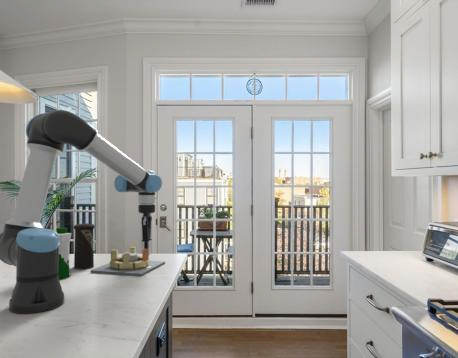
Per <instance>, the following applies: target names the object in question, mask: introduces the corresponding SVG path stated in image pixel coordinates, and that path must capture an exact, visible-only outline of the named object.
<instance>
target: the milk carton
mask: <svg viewBox="0 0 458 358" xmlns="http://www.w3.org/2000/svg"><path fill="white" fill-rule="evenodd" d="M55 231H56V232H57V233H58V235H59V243H60V244H59V271H58V278H59V281H60V280H63V278H64V279H68V278H70V277H71V273H70V242H71V238H72V234H73V233H72V232H68V227H62V226H61V227H57V228H56V229H55ZM67 277H68V278H67Z"/></svg>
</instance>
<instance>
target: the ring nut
mask: <svg viewBox="0 0 458 358" xmlns="http://www.w3.org/2000/svg"><path fill="white" fill-rule="evenodd" d="M136 250H137V249H136V246H130V247H129V251H126V252H124V253H123V254H124V262H122V256H119V251H118V249H111V250H110V260H109V263H110V267H111V268H115V269H137V268H142V267H146V266H148V264H149V261H150V257H149V256H150V255H149V249H146V250H143V249H142V252H141V253H142V254H141V255H138V261H137V262H130V253H136V254H137V252H136Z"/></svg>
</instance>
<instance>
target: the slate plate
mask: <svg viewBox="0 0 458 358" xmlns="http://www.w3.org/2000/svg"><path fill="white" fill-rule="evenodd" d="M138 256H139V253H137V252H136V253H130V262H137V261H138ZM121 257H122V262H124V253H122V254H121ZM163 265H166V261H164V260H162V261H161V260H160V261H159V260H149V264H148V266H146V267H142V268H137V269H115V268H111V267H110V262H109V263H106V264H103V265H101V266H98V267H95V268H93V269H90V272H92V273H93V274H103V273H107V274H106V275H108V274H109V275H117V276H118V275H121V276H131V277H132V276H135V277H143V276H145V275H146V274H149V273H150V272H152V271H154V270H156V269H158V268H160V267H161V266H163Z"/></svg>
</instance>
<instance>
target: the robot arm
mask: <svg viewBox="0 0 458 358" xmlns="http://www.w3.org/2000/svg"><path fill="white" fill-rule="evenodd" d="M25 134H26V137H27V138H28V139H27V142H26V147H27V149H28V150H29V154H28V158H27V161H26V165H25V169H24V173H23V177H22V180H21V183H20V187H19V190H18V191H19V192H18V195H17V198H16V199H17V200H16V203H15V206H14V210H13V213H12V218H10V219H9V220H8V221H6V222H5V224H4V227H3V231H2V232H1V233H0V261H1V262H3V263H4V264H5V265H8V266H13V267H16V273H15V275H16V276H15V277H16V280H15V286H14V288H13V291H12V294H11V298H9V302H8V310H9V312H11V313H15V314H34V313H35V314H36V313H41V312H46V311H51V310H53V309H54V310H55V309H56V308H58V307H60V306H62V305H63V304H64V302H65V293H64V291H63V289H62V286H61V285H62V284H61V281H60V280H59V278H58V271H59V244H60V243H59V235H58V233H57V232H56V230H53V229H49V228H44V226H43V224H42V221H41V220H42V217H43V214H44V208H45V204H46V202H47V201H46V200H47V196H48V193H49V189H50V185H51V181H52V177H53V173H54V170H55V165H56V161H57V159H58V157H60V156H62V155H63V151H64V147H65V145H69V146H71V147H74V148H75V149H77V150H78V151H84V152H86V153H87V154H89V155H90V156H92V157H93V158H95V159H96V160H97V161H99V162H100V163H102V164H103V165H105V166H106V167H108V168H109V169H111V171H113V172H115V173H117V174H118V175H117V176H116V177H115V179H114V183H113V184H114V188H115V190H116V191H117V192H118V193H137V195H138V197H137V198H138V199H137V200H138V202H137V203H138V213H139V214H143V215H142V217H141V232H142V240H141V242H142V243H143V249H142V250H146V249H149V256H150V255H151V241H152V240H153V239H152V238H151V236H152V220H153V219H152V218H153V217H152V215H151V214H154V213H156V199H157V196H156V193H158V192H159V191H160V190H161V188H162V185H163V180H162V178H161V177H160V175H158V174H156V173H155V171H154V170H145V169H144V168H143V167H142V166H140V164H138V163H136V162H135V161H134V160H133V159H131V158H130V157H128V156H127V155H126V154H125V153H123V152H122V151H121V150H119V149H118V148H117V147H116V146H115V145H113V144H112V143H111V142H109V141H108V140H106V139H105V137H102V135H100V134H99V133H98V130H97V128H96V127H94V126H93V125H92V124H91V123H89V122H88V121H86V120H85V119H83V118H82V117H81V116H79V115H77V114H75V113H73V112H71V111H68V110H63V109H57V110H53V111H50V112H44V113H40V114H38V115H35V116H33V117H32V118H31V119H29V121H28V123H27V124H26V127H25Z"/></svg>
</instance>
